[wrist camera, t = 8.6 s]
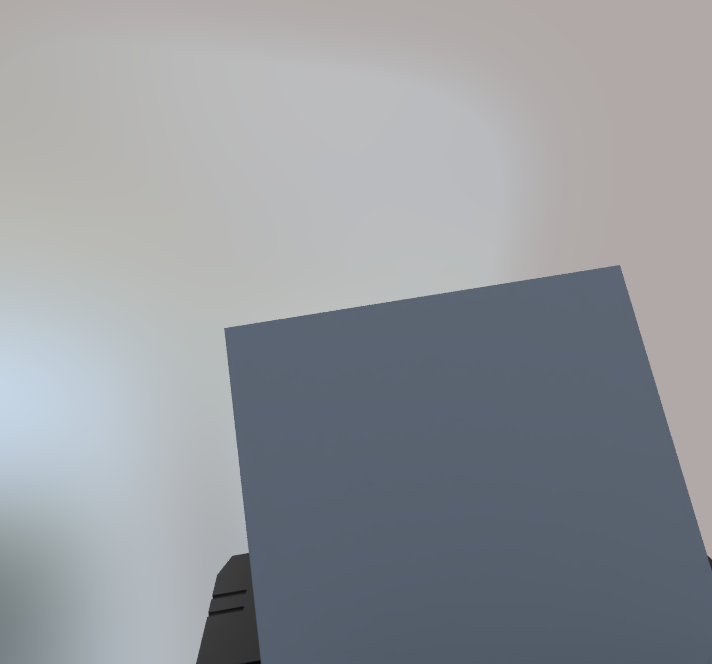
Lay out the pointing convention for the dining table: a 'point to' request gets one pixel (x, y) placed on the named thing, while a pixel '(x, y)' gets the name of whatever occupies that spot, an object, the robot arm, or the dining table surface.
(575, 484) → the rail
